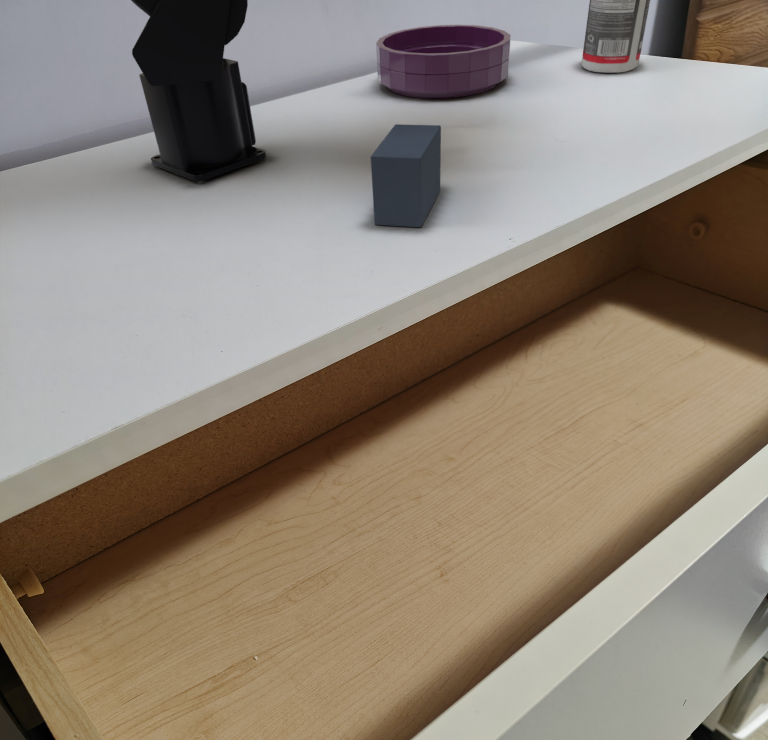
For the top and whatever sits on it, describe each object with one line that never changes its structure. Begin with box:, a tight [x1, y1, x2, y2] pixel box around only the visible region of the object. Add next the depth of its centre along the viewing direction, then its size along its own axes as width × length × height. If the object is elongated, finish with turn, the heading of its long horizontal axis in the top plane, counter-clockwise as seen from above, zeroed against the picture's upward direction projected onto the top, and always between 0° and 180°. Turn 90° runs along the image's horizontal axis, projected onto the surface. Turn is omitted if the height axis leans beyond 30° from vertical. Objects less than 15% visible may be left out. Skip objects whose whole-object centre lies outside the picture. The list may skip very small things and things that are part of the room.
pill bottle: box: [581, 0, 651, 74], centre depth 62 cm, size 5×5×10 cm
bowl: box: [375, 24, 511, 99], centre depth 63 cm, size 12×12×4 cm
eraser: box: [370, 123, 442, 228], centre depth 42 cm, size 6×3×4 cm, turn 166°
